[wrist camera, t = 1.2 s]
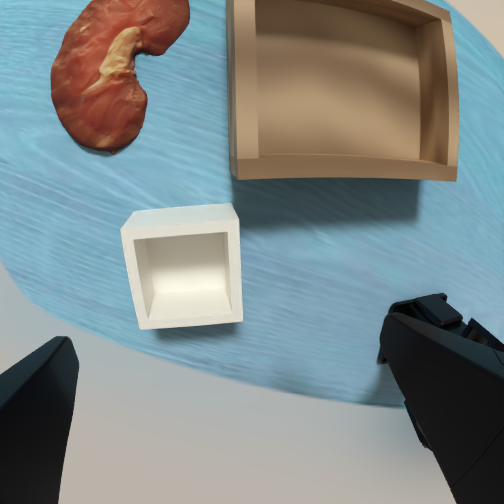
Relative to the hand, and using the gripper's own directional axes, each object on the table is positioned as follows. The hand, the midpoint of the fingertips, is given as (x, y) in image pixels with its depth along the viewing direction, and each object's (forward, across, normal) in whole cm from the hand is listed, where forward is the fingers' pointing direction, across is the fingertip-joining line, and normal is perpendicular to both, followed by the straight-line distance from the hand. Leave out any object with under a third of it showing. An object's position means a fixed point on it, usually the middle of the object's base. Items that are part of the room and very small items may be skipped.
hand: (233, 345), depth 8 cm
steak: (+13, +6, -11) cm, 18 cm away
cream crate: (+12, +2, +2) cm, 13 cm away
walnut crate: (+12, -8, -9) cm, 17 cm away
